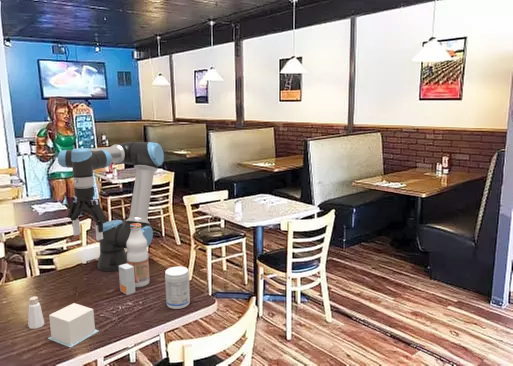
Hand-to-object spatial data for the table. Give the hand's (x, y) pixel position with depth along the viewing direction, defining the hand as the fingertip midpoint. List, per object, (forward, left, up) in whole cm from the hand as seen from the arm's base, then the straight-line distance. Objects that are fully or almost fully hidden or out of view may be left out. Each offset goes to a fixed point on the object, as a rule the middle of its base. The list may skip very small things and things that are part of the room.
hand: (88, 237), depth 175 cm
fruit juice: (-20, +7, -27) cm, 34 cm away
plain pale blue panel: (+24, +18, -27) cm, 40 cm away
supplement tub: (-12, +36, -27) cm, 47 cm away
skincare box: (-11, +9, -27) cm, 30 cm away
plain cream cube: (+24, +18, -27) cm, 40 cm away
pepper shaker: (+26, 0, -27) cm, 37 cm away
